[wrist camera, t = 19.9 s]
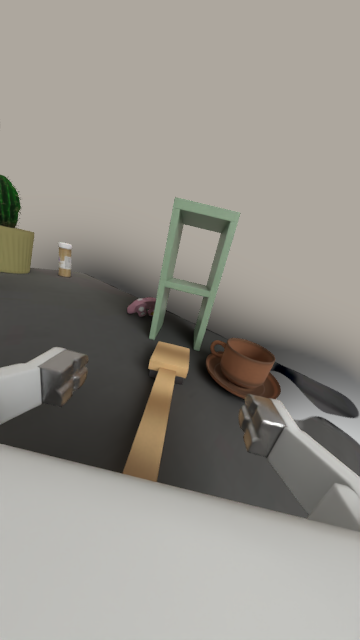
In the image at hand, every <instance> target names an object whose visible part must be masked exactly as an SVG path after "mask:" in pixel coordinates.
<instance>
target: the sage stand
mask: <svg viewBox="0 0 360 640" xmlns="http://www.w3.org/2000/svg"><path fill="white" fill-rule="evenodd" d="M239 217H240V213H239V212H235V211H231V210H226V209H222V208H218V207H214V206H210V205H206V204H201V203H197V202H193V201H189V200H185V199H181V198H176V197H175V200H174V205H173V211H172V216H171V222H170V227H169V233H168V238H167V243H166V249H165V254H164V260H163V265H162V270H161V276H160V281H159V287H158V292H157V297H156V303H155V308H154V314H153V319H152V325H151V330H150V335H149V339H153V340H154V339H155V338H156V336H157V334H158V332H159V330H160V328H161V327H162V325H163V321H164V316H165V311H166V306H167V301H168V297H169V292H170V288H171V289H176V290H179V291H184V292H187V293H192V294H196V295H200V296H204V297H203V301H202V304H201V308H200V311H199V315H198V319H197V322H196V326H195V329H194V350H198V351H199V350H200V347H201V343H202V340H203V337H204V333H205V330H206V327H207V323H208V320H209V317H210V313H211V310H212V307H213V303H214V300H215V297H216V293H217V290H218V286H219V283H220V280H221V277H222V273H223V270H224V266H225V263H226V260H227V256H228V253H229V250H230V246H231V243H232V240H233V237H234V233H235V230H236V227H237V223H238V220H239ZM184 224H185V225H190V226H194V227H198V228H202V229H206V230H210V231H215V232H219V233H221V236H220V239H219V243H218V246H217V250H216V254H215V257H214V261H213V264H212V268H211V272H210V275H209V279H208V283H207V286H205V285H201V284H197V283H192V282H188V281H184V280H180V279H176V278H173V273H174V268H175V263H176V258H177V253H178V249H179V244H180V239H181V234H182V229H183V225H184Z"/></svg>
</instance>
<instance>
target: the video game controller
mask: <svg viewBox="0 0 360 640" xmlns="http://www.w3.org/2000/svg"><path fill="white" fill-rule="evenodd" d="M155 303H156V299H155V298H152V297H147V298H143V299H142V298H139V299H138V300H135V301H134V302H133V303H132V304H130V305H129V306H128V308H127V312H128V313H129V314H133V313H135V312H137V313H138V314H139V316H141V317H142V316H145V315H146V313H147V312H146V309H149V310H148V314H149V316H153V314H154V308H155Z"/></svg>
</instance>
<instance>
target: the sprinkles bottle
mask: <svg viewBox="0 0 360 640" xmlns="http://www.w3.org/2000/svg"><path fill="white" fill-rule="evenodd" d="M58 246H59V275H60V276H63V277H71V249H72V245H70V244H66V243H62V242H59V243H58Z"/></svg>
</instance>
